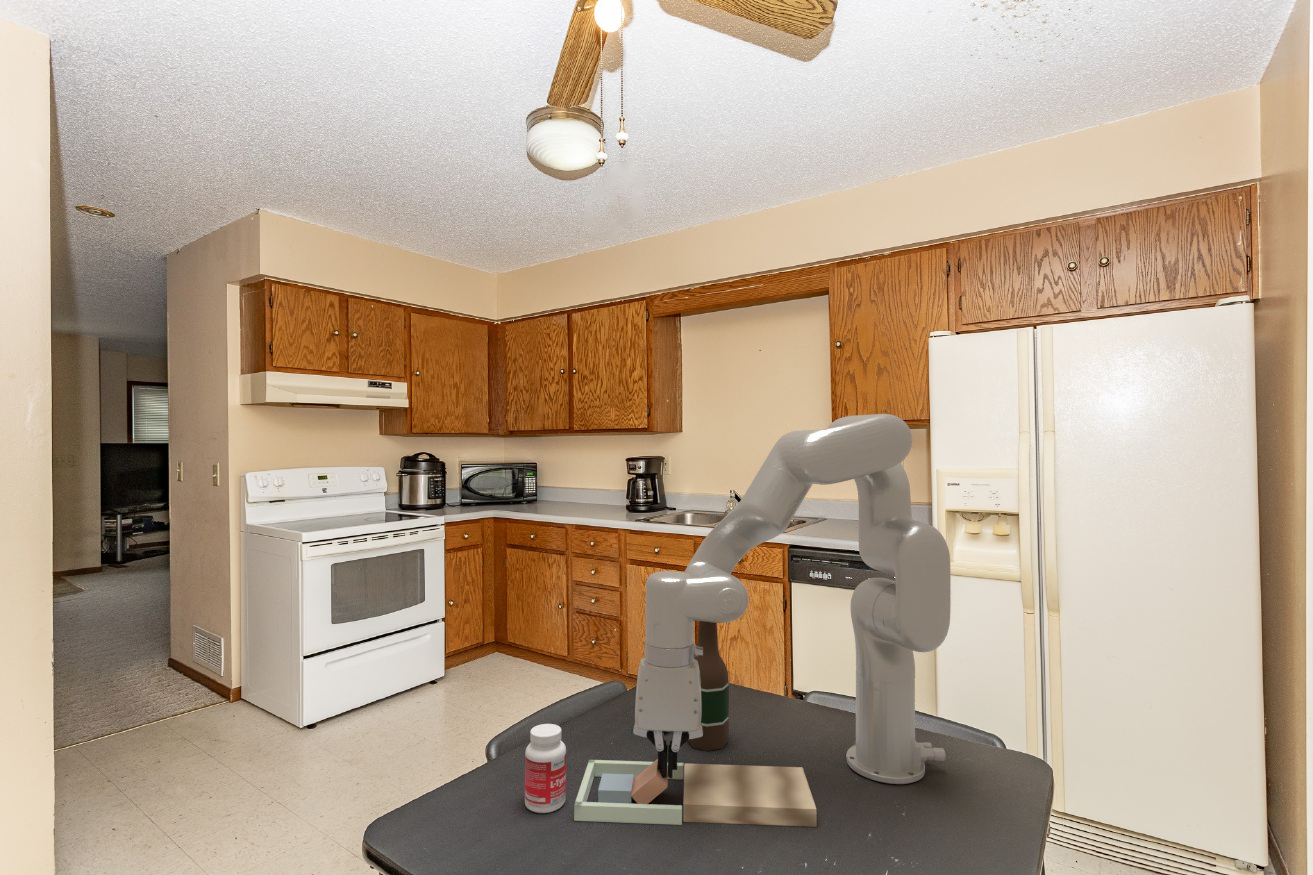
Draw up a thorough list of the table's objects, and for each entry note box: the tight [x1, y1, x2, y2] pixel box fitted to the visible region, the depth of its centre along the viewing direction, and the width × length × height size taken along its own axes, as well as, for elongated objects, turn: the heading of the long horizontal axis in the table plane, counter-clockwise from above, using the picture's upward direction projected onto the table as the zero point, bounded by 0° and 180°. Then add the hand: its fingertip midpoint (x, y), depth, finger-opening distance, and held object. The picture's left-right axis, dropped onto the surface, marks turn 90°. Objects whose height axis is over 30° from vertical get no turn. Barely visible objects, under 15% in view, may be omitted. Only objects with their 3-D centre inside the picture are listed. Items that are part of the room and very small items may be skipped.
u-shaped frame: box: [573, 759, 684, 826], centre depth 100 cm, size 16×14×2 cm
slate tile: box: [597, 774, 634, 804], centre depth 99 cm, size 5×5×2 cm
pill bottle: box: [524, 723, 567, 814], centre depth 98 cm, size 6×6×11 cm
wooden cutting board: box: [682, 763, 818, 828], centre depth 99 cm, size 19×12×2 cm, turn 87°
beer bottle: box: [687, 621, 730, 752], centre depth 118 cm, size 8×8×24 cm
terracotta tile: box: [631, 758, 669, 804], centre depth 99 cm, size 5×5×2 cm
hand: (667, 773), depth 99 cm, fingers closed
